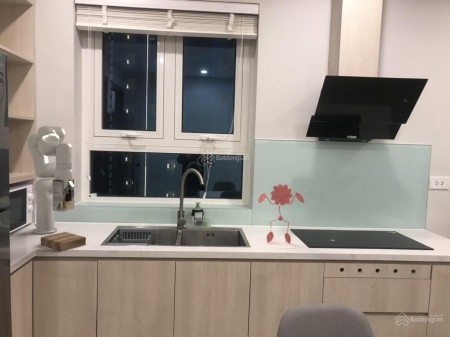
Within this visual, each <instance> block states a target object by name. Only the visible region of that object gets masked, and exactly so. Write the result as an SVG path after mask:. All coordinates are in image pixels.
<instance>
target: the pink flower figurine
mask: <svg viewBox="0 0 450 337" xmlns="http://www.w3.org/2000/svg"><path fill="white" fill-rule="evenodd" d="M272 189H273V190H272V191H270V195H271V197H270V199H269V197H268V196H267V194H266V193H265V192H263V193H262V194H260V195H259V196H258V199H257V200H258V204H261V203H262V202H264V201H265V199H267V200H268V202H269V203H270V204H271V205H276V206H277V205H278V212H279V216H278V217H277V218H276V219H274V220H271V221H270V222H269V224H270V225H269V226H270V227H272V222H275V221H284V222H287V228H289V226H290V222H289V221H287V220H286V219H284V217H283V216H282V214H281V211H280V210H281V209H280V208H281V206H285V204H286V205H292V204H293V202H294V200H295V197H296V199H297V200H298V202H300V203H302V204H305V200H304V197H303V195H301V194H300V193H299V192H297V191H295V194H294V195H293V194H292V189H291V188H289V186H288V184H286V183H285V184H284V185H283V184H280V183H279V184H278V185H273V186H272ZM291 198H292V199H291ZM271 201H274V203H272V202H271ZM274 236H275V235H274V232H273V231H270V232H268V233H267V235H266V242H267V244H269V243H270V242H272V241H273V239H274V238H275V237H274ZM284 239H285V242H286V241H287V242H286V243H288V244H289V245H290V244H291V243H292V242H291V241H292V238H291V235H290V234H289V229H287V230H286V232H285V234H284ZM260 241H261V238H260Z"/></svg>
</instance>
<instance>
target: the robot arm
mask: <svg viewBox="0 0 450 337" xmlns="http://www.w3.org/2000/svg"><path fill="white" fill-rule="evenodd" d="M65 138H66V131H65V130H64V128H62V127H61V126H53V125H52V126H51V125H42V126H40V127H39V128H38V129H37V130H36V133H32V134H29V135H28V136H27V138H26V145H27V149H28V152H29V153H30V156H31V158H32V162H33V170H34V173H35V176H36V177H37V178H38V179H37V180H36V181H35V183H34V192H35V200H36V201H35V202H36V206H35V207H36V209H35V210H36V218H35V219H36V223H35V224H34V227H35V229H33V231H32V232H33V234H37V235H50V234H55V233H56V232H58V228H57V227H55V211H53V197H52V196H53V180H61V181H64V189H65V188H66V194H65V201H66V202H67V201H72V192H73V189H74V190H75V184H74V185H73V179H74V178H73V171H72V162H73V158H72V155H73V152H72V151H73V146H72V144H71V143H67V142H65V141H64V140H65ZM50 157H55V162H50V159H49V158H50ZM67 186H68V187H69V188H67ZM68 189H69V190H68Z"/></svg>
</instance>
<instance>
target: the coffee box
mask: <svg viewBox="0 0 450 337" xmlns="http://www.w3.org/2000/svg"><path fill="white" fill-rule="evenodd" d="M73 185H74V186H75V178H73ZM67 188H69V187H68V186H67ZM68 190H69V189H68ZM65 194H66V188H65V189H64V181H61V180H53V195H52V199H53V211H54V212H62V213H64V212H67V211H70V210H74V209H75V188H74V189H73V192H72V201H67V202H66V201H65Z"/></svg>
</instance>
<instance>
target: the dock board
mask: <svg viewBox="0 0 450 337" xmlns="http://www.w3.org/2000/svg"><path fill="white" fill-rule="evenodd" d="M86 237H87V236H83V235H79V234H76V233H72V232H71V233H70V232H68V231H63V232H58V233H51V234H47V235H44V236H40V246H45V247H46V248H50V249H54V250H57V251H60V252H65V251H67V250H70V249H74V248H75V249H76V248H78V247H81V246H85V245H87V242H86V241H87V238H86Z"/></svg>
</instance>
